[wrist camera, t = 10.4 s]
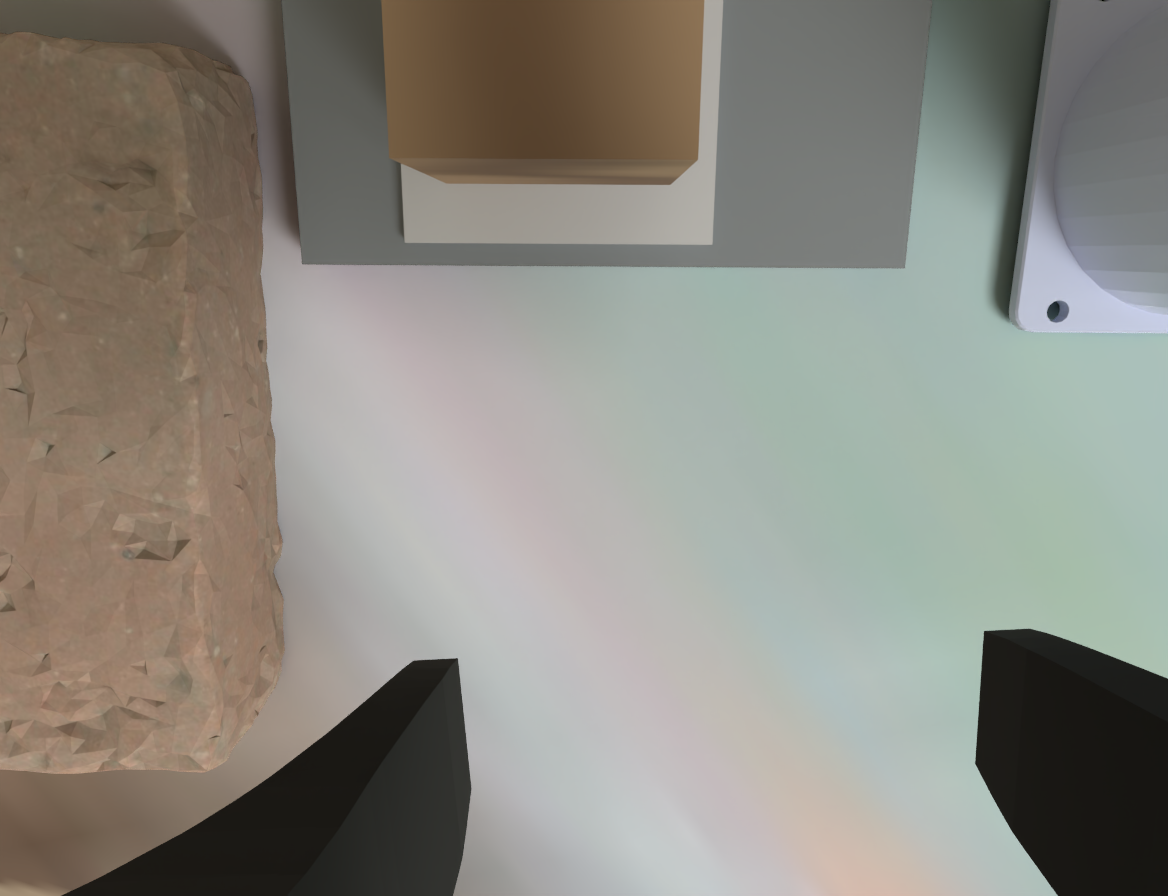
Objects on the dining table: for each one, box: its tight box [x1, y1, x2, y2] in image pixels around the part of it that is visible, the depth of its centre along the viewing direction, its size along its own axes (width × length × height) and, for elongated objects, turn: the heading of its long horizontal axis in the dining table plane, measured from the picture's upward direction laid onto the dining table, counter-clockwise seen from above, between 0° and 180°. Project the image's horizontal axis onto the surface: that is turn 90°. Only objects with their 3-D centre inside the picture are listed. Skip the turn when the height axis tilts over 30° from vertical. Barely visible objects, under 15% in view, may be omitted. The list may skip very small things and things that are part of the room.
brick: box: [0, 32, 285, 774], centre depth 19 cm, size 17×8×5 cm, turn 177°
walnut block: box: [381, 0, 704, 185], centre depth 15 cm, size 5×5×5 cm
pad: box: [401, 0, 723, 245], centre depth 17 cm, size 7×7×1 cm
